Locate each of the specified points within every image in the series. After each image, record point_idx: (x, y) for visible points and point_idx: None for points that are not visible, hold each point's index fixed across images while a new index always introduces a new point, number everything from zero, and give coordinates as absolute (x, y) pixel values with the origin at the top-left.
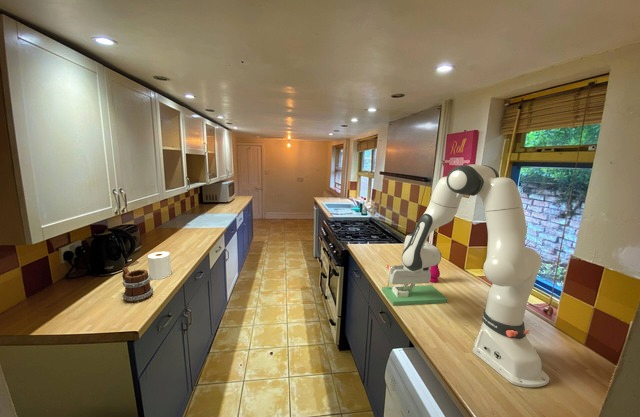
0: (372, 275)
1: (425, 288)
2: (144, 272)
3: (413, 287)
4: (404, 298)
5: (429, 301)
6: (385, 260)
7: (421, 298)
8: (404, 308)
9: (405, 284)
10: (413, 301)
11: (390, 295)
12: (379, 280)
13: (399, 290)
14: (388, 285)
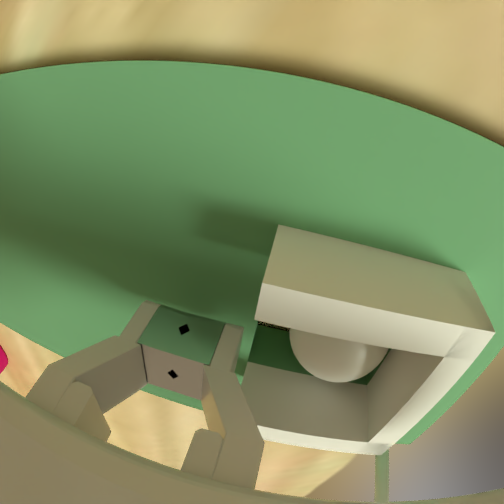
0: (301, 493)
1: (2, 292)
2: None
3: None
4: (393, 198)
5: (32, 68)
6: None
7: (85, 116)
8: (481, 48)
9: (257, 473)
10: (271, 71)
11: (496, 330)
12: (301, 472)
13: (337, 379)
14: (383, 458)
